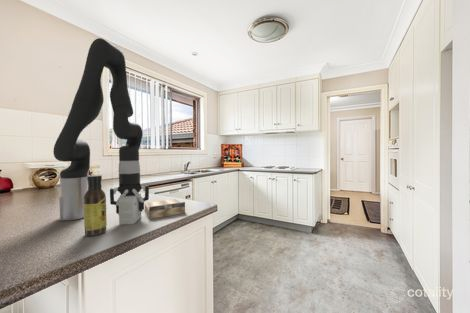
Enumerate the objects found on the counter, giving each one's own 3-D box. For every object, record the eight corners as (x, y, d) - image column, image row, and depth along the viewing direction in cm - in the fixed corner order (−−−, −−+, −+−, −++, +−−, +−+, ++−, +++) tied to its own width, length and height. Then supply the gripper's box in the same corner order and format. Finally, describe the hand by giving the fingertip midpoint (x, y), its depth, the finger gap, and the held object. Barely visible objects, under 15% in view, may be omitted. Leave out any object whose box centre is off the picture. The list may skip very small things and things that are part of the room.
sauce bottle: (106, 234, 68) (105, 175, 67) (83, 238, 65) (82, 177, 64) (106, 228, 73) (105, 174, 73) (85, 231, 70) (83, 175, 69)
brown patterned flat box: (149, 218, 83) (149, 207, 83) (144, 209, 97) (144, 199, 97) (185, 212, 91) (185, 202, 91) (176, 204, 105) (175, 195, 105)
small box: (127, 217, 84) (127, 193, 84) (141, 217, 85) (141, 192, 85) (118, 224, 76) (117, 197, 76) (133, 224, 77) (133, 197, 77)
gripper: (147, 170, 87) (148, 207, 87) (108, 172, 80) (109, 213, 80) (150, 171, 80) (150, 212, 81) (108, 174, 73) (109, 218, 74)
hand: (130, 212), depth 81 cm, fingers closed on small box, 7 cm apart
